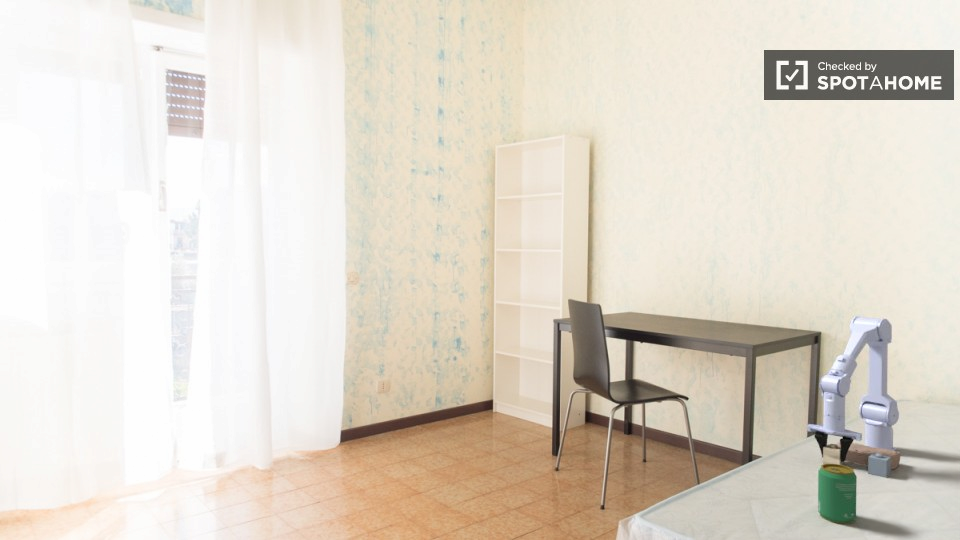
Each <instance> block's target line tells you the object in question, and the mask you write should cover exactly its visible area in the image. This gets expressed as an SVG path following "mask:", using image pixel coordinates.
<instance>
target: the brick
mask: <svg viewBox="0 0 960 540" xmlns="http://www.w3.org/2000/svg"><path fill="white" fill-rule="evenodd" d="M835 444H836V445H838V446H839V447H841V445H840V441H838V442H837V443H835ZM876 453H881V454H883V455H884V456H888V457H891V466H890V470H894V469H896V468H897V467H898V466H900V462H901V454H900V452H899V451H897V450H895V451H892V450H888V449H882V448H874V447H869V446H865V444H861V443H857V442H856V443H855V442H852V444H851V445H850V447H849V450H848V452H847V455H846V459H845V461H846V462H849V463H853V464H858V465H862V466H866V467H868V457H869V456H870V455H872V454H876ZM845 461H844V462H845Z"/></svg>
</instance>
